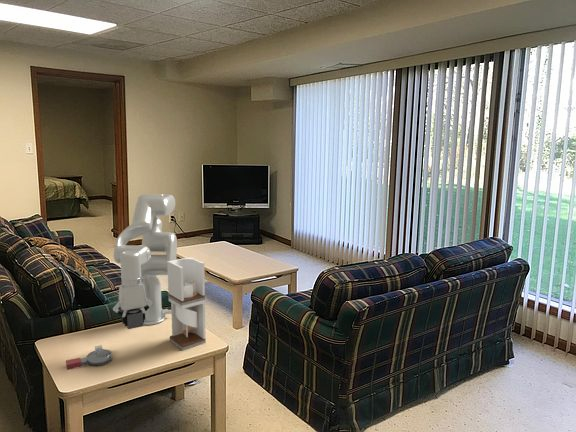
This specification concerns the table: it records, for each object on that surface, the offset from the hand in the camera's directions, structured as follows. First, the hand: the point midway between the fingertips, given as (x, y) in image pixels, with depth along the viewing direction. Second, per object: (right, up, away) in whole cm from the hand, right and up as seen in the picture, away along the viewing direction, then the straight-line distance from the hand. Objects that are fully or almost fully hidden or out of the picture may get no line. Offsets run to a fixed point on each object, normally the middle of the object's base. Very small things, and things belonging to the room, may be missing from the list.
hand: (134, 322), depth 186 cm
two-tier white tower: (+20, -10, +8) cm, 24 cm away
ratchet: (-13, -13, -11) cm, 21 cm away
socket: (0, -1, 0) cm, 1 cm away
